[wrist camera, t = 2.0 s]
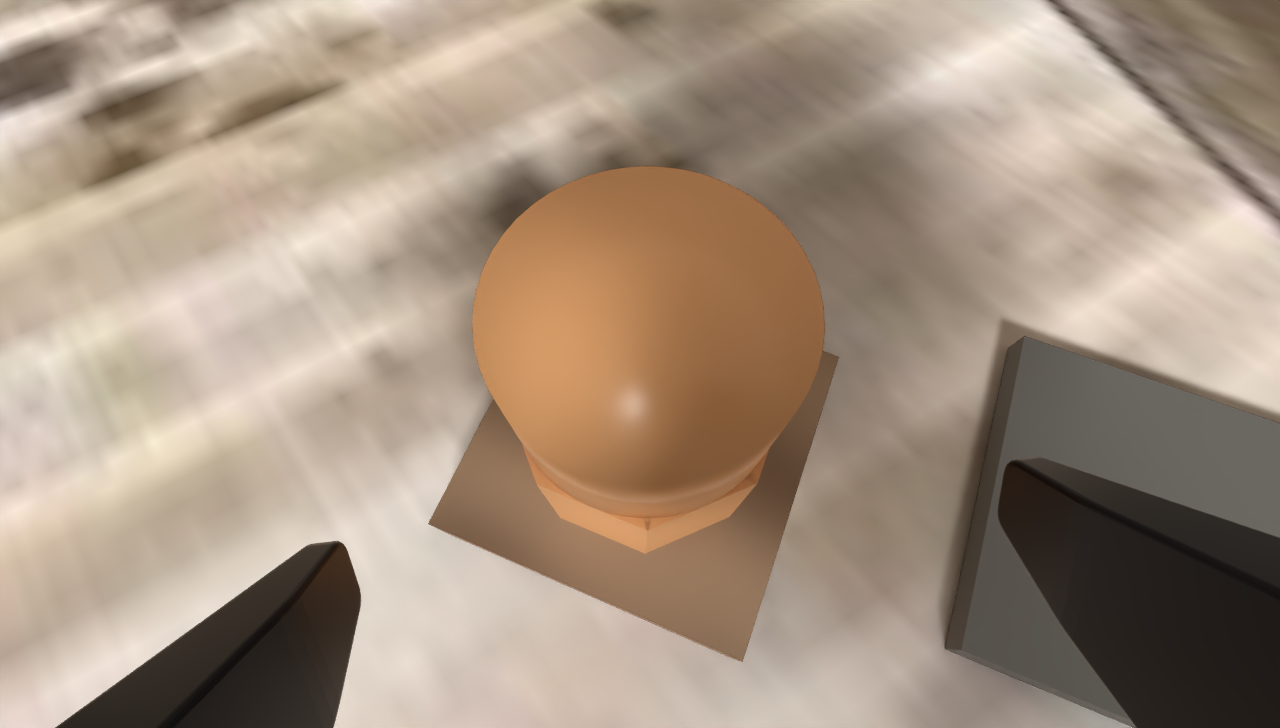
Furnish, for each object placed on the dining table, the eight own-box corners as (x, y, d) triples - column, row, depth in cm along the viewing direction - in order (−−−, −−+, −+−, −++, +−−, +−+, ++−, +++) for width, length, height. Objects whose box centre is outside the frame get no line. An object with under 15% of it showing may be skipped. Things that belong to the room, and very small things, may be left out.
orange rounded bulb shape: (706, 580, 17) (761, 544, 10) (502, 493, 18) (406, 399, 10) (776, 382, 19) (864, 227, 12) (590, 313, 20) (563, 127, 12)
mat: (1324, 807, 17) (1365, 817, 16) (944, 648, 18) (961, 650, 17) (1327, 458, 20) (1360, 450, 19) (1008, 348, 22) (1024, 336, 21)
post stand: (731, 657, 18) (773, 672, 13) (448, 533, 19) (372, 496, 14) (821, 380, 21) (886, 293, 16) (572, 288, 22) (551, 177, 17)
